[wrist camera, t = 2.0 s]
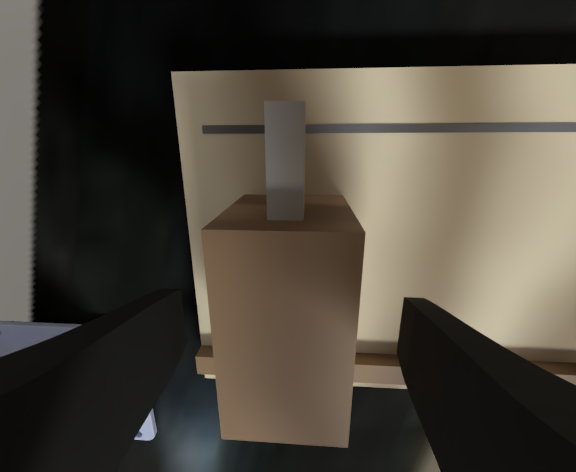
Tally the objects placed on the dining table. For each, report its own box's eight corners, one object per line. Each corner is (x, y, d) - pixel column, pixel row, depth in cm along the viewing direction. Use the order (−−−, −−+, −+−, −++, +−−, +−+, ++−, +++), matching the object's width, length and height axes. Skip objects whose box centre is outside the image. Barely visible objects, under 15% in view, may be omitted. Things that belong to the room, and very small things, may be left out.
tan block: (251, 338, 14) (221, 438, 9) (240, 115, 11) (188, 95, 6) (335, 342, 14) (347, 447, 9) (347, 114, 11) (377, 93, 6)
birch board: (214, 357, 17) (189, 411, 13) (187, 79, 12) (141, 57, 9) (594, 376, 15) (674, 442, 12) (716, 70, 11) (895, 39, 8)
